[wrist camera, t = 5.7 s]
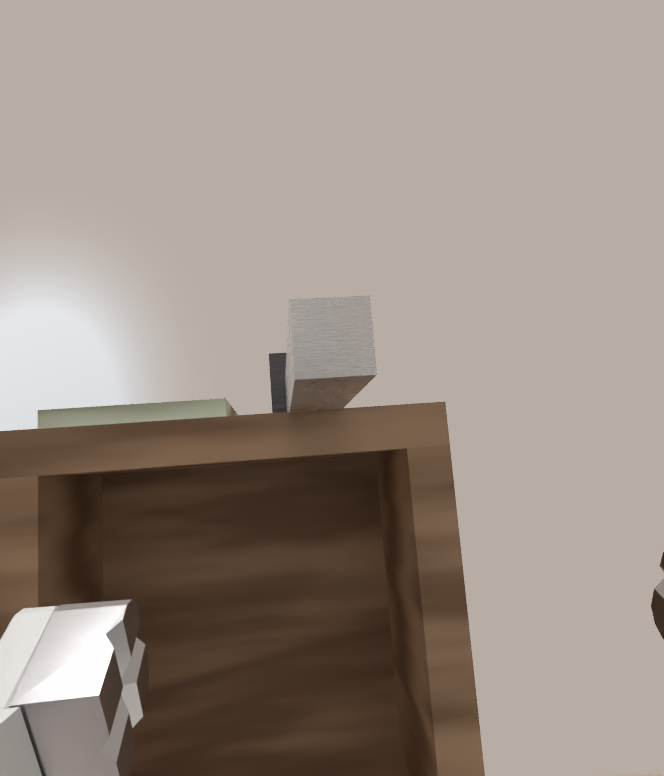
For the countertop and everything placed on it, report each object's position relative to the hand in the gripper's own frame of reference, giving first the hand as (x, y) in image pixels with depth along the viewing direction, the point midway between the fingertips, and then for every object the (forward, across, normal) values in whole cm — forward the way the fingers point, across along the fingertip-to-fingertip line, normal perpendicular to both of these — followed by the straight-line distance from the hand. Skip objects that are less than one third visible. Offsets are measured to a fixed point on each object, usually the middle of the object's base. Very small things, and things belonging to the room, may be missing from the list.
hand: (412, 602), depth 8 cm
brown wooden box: (+8, +4, +29) cm, 30 cm away
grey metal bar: (+17, 0, +4) cm, 18 cm away
